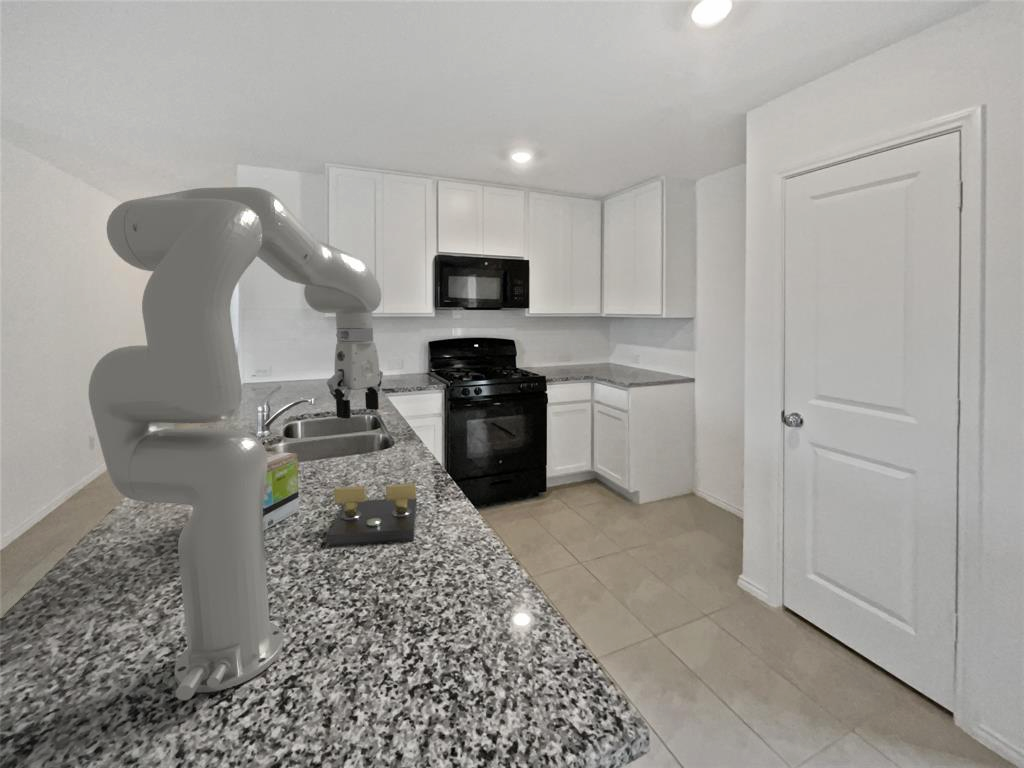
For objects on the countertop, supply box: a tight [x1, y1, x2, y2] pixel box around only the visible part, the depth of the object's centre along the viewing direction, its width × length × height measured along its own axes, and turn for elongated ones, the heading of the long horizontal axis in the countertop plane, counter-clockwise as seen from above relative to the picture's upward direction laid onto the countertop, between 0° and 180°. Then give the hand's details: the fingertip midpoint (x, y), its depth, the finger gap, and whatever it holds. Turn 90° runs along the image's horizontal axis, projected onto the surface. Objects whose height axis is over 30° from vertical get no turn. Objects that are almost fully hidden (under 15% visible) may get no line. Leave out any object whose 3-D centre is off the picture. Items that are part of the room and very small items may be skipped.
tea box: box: [263, 450, 300, 531], centre depth 105 cm, size 15×10×15 cm
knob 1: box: [333, 485, 367, 516], centre depth 102 cm, size 3×6×6 cm, turn 100°
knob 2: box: [385, 482, 417, 513], centre depth 104 cm, size 3×6×6 cm, turn 100°
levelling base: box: [327, 496, 418, 547], centre depth 104 cm, size 18×17×3 cm
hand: (358, 413), depth 103 cm, fingers open, 9 cm apart
